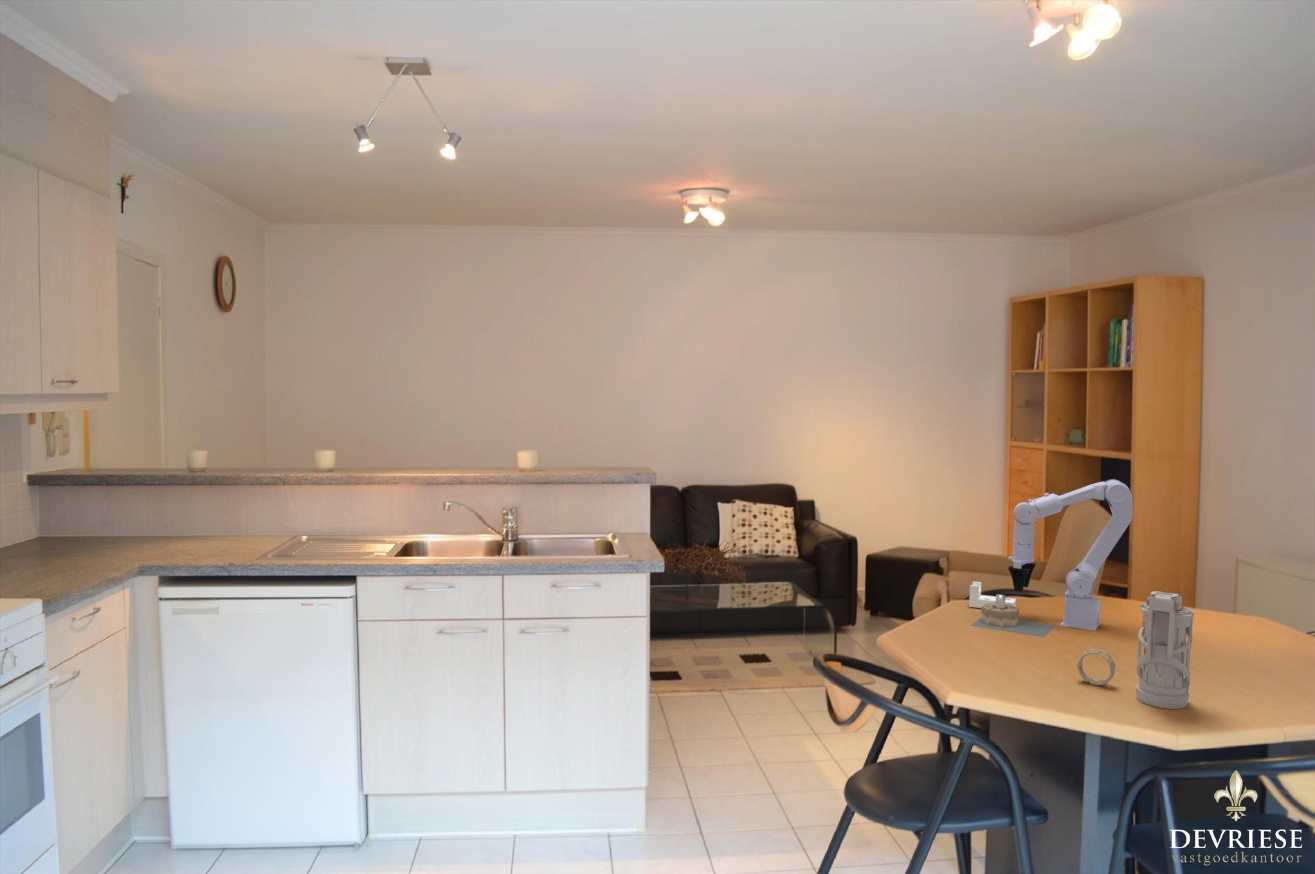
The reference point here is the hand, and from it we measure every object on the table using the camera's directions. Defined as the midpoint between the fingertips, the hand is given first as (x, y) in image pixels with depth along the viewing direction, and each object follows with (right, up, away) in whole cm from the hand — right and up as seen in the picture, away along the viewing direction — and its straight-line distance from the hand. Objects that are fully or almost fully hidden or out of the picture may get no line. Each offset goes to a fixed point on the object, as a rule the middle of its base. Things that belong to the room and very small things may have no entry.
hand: (1021, 589), depth 279 cm
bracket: (-3, -9, +14) cm, 17 cm away
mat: (-5, -10, -7) cm, 13 cm away
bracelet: (-5, -13, -59) cm, 61 cm away
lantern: (+3, -14, -72) cm, 73 cm away
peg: (-8, -9, -4) cm, 13 cm away
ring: (-8, -9, -4) cm, 13 cm away
